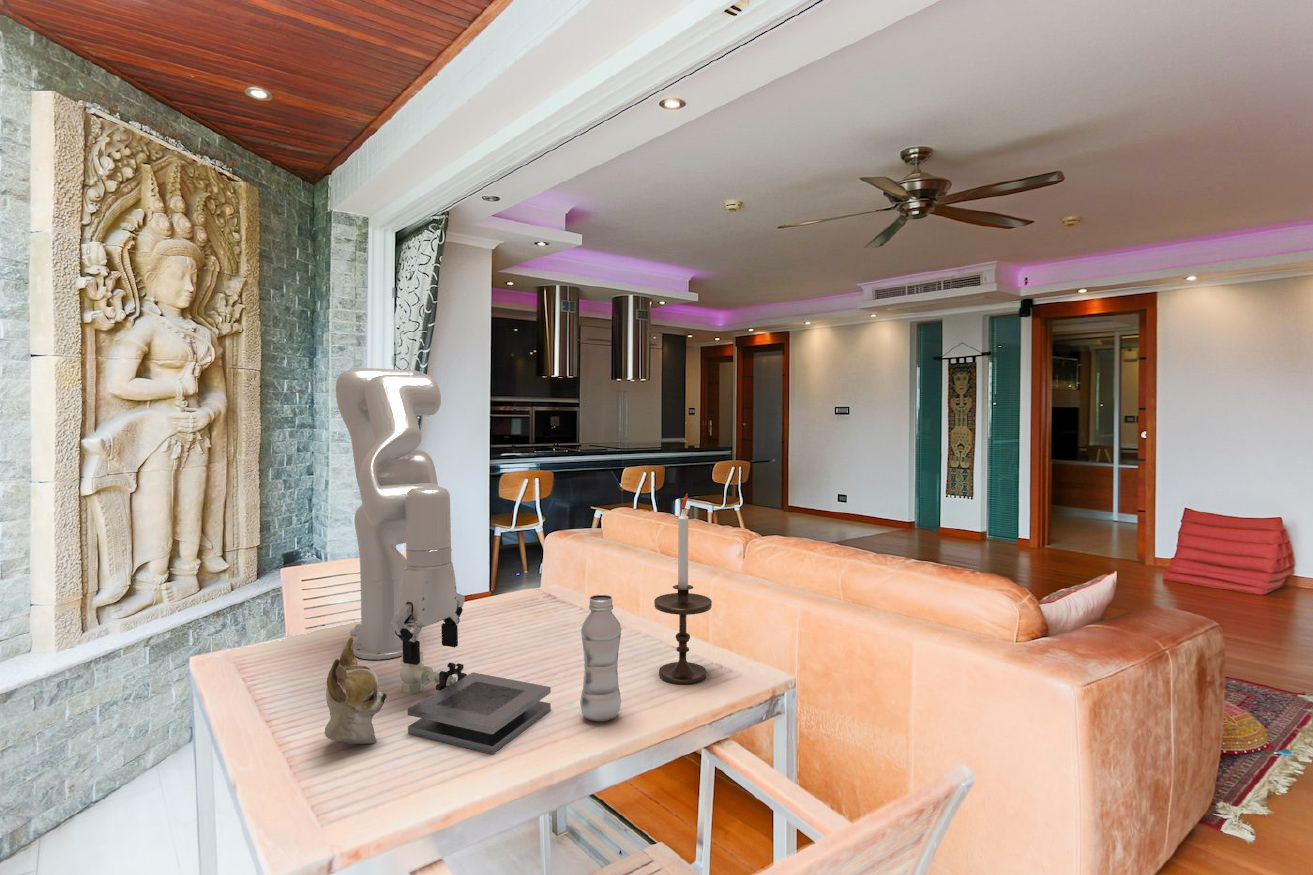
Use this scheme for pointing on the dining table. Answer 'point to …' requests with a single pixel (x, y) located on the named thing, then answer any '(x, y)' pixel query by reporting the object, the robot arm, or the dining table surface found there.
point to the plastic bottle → (600, 661)
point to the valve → (427, 676)
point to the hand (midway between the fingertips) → (431, 654)
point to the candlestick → (682, 613)
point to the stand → (479, 712)
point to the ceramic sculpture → (352, 700)
